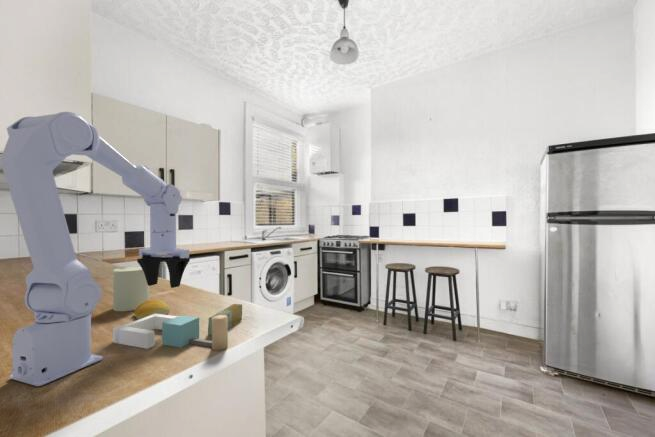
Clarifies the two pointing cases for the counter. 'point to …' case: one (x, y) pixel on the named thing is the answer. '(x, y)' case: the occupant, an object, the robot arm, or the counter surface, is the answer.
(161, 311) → the bread roll
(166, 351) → the counter surface
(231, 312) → the medication box
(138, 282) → the can
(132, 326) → the white u-shaped bracket
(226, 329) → the tethered block
